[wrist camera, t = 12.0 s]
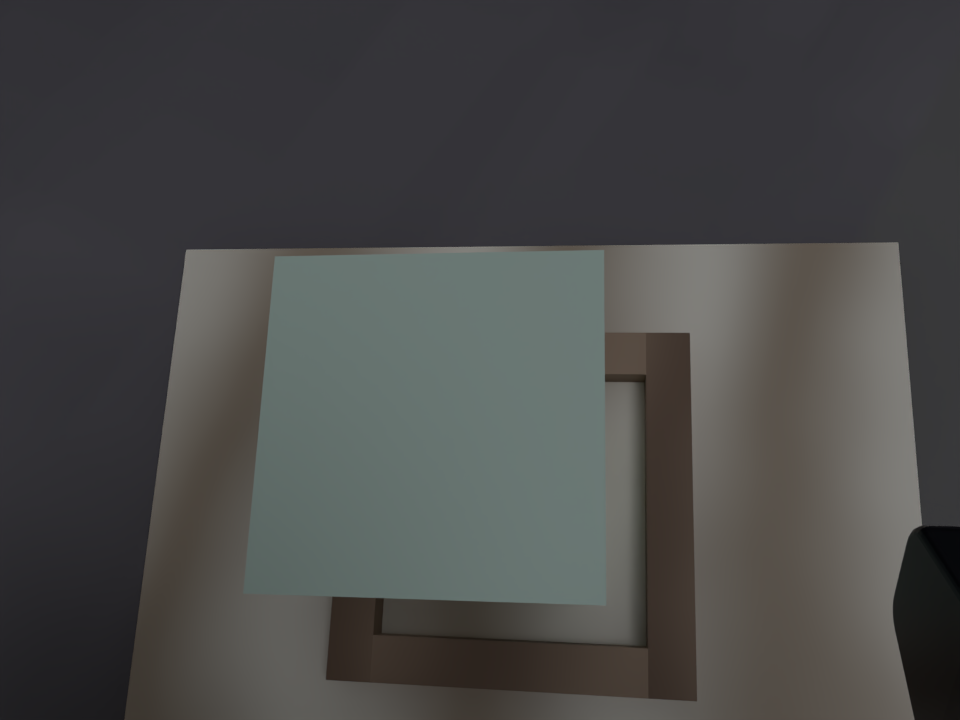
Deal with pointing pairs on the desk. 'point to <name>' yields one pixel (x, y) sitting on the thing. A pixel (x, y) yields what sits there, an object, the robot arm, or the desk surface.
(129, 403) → the desk surface
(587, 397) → the pillar block
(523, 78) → the desk surface
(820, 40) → the desk surface
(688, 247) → the beige flat board
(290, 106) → the desk surface
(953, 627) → the robot arm
